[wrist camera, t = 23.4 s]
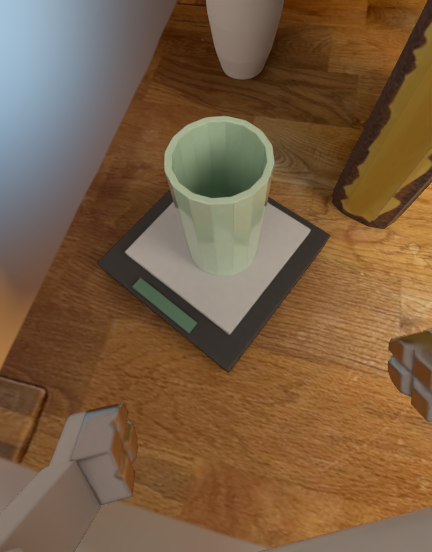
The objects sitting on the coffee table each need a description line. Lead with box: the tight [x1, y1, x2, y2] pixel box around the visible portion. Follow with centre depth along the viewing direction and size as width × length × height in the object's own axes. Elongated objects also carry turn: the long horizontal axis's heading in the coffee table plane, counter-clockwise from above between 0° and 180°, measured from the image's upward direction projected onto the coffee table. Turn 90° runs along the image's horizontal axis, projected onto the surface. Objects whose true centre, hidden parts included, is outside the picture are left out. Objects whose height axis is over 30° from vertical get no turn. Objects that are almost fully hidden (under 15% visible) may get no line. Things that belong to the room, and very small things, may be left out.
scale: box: [98, 190, 330, 373], centre depth 27 cm, size 14×14×3 cm
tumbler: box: [164, 116, 275, 276], centre depth 21 cm, size 6×6×10 cm
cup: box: [206, 0, 284, 79], centre depth 33 cm, size 8×8×10 cm
